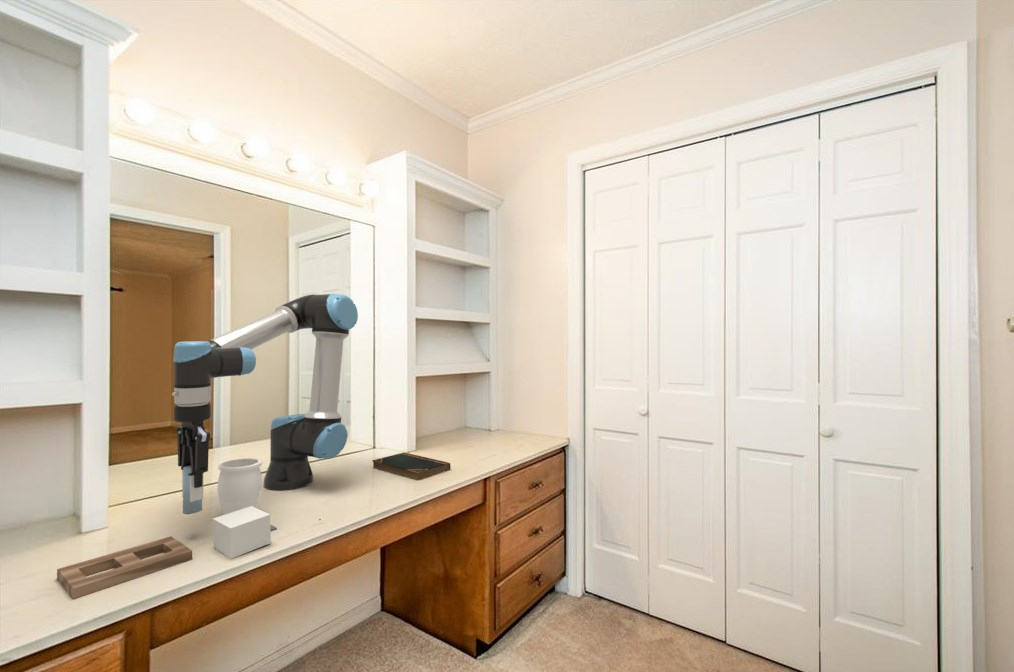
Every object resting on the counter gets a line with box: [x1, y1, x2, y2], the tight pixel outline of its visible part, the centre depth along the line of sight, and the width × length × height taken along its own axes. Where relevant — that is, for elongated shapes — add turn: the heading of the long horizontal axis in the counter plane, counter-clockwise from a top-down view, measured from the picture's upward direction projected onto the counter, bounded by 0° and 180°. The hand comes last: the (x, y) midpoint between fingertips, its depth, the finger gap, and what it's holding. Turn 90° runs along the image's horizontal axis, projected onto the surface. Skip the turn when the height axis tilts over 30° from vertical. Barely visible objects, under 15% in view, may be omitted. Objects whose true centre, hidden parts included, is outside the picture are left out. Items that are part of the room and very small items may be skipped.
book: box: [371, 452, 451, 481], centre depth 179 cm, size 17×4×25 cm
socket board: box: [56, 535, 193, 600], centre depth 100 cm, size 12×20×2 cm, turn 145°
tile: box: [270, 524, 278, 532], centre depth 121 cm, size 6×6×1 cm
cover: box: [212, 506, 272, 559], centre depth 112 cm, size 9×9×7 cm
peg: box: [182, 465, 203, 515], centre depth 115 cm, size 4×4×11 cm
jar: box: [217, 457, 263, 515], centre depth 129 cm, size 11×10×15 cm
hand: (192, 497), depth 116 cm, fingers closed on peg, 4 cm apart
